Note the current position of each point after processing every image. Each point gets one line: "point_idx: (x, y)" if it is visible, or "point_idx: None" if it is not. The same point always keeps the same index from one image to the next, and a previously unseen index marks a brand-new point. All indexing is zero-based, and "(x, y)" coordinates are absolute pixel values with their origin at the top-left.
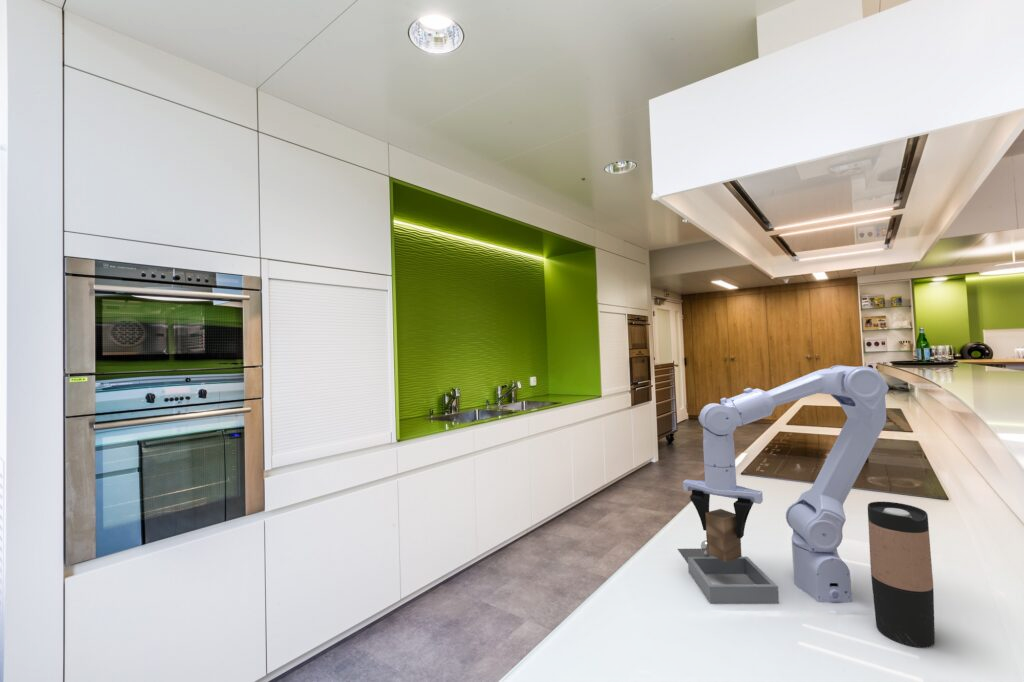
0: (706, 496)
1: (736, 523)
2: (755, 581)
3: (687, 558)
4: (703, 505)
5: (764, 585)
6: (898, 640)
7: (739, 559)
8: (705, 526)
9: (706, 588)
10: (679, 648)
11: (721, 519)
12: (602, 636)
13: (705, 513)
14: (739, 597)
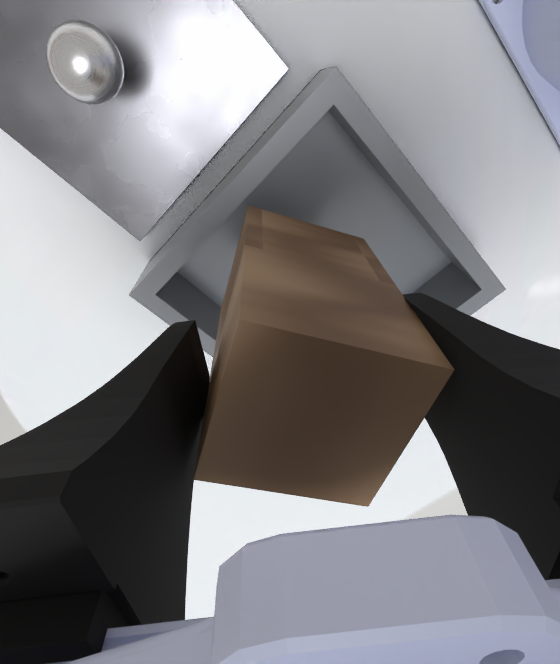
0: (135, 559)
1: (436, 437)
2: (384, 176)
3: (52, 150)
4: (179, 550)
5: None
6: None
7: (310, 128)
8: (205, 404)
9: None
10: (315, 519)
11: (348, 499)
12: (195, 567)
13: (197, 474)
14: None
